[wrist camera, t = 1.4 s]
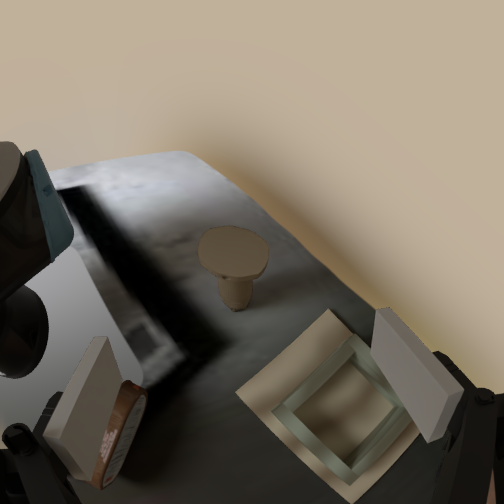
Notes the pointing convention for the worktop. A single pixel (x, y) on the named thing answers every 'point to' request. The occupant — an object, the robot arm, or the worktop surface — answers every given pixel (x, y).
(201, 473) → the worktop surface
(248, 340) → the worktop surface
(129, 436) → the tin
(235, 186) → the worktop surface
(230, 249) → the handle
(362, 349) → the socket board
